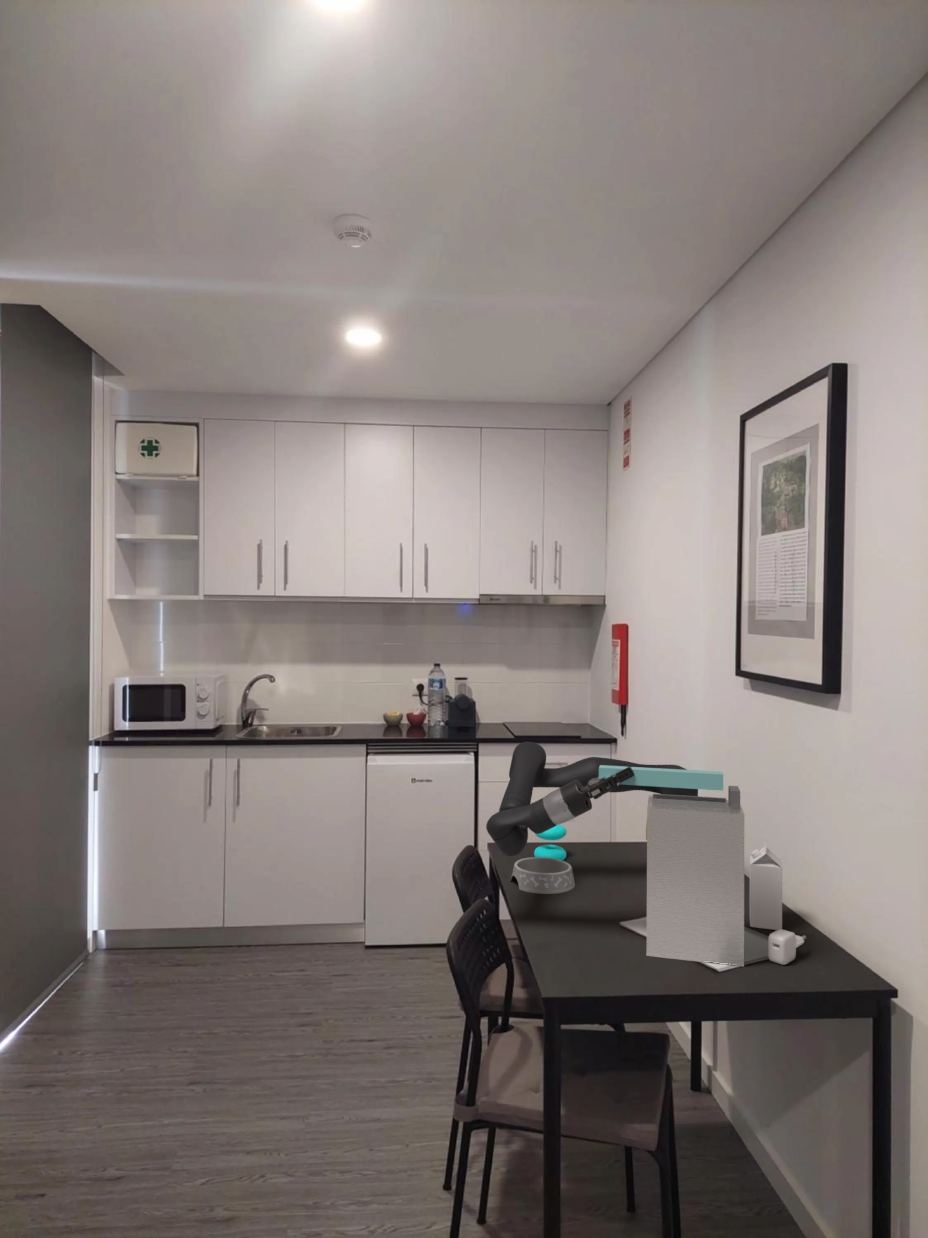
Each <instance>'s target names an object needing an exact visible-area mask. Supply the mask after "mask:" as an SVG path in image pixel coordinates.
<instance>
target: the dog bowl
mask: <svg viewBox="0 0 928 1238" xmlns="http://www.w3.org/2000/svg"><path fill="white" fill-rule="evenodd" d="M573 871H574V870H573V867H572V864H570V863H568V862H566V861H565V860H559V859H554V858H546V857H535V856H534V857H532V856H531V857H525V858H521V859H520V858H519V859H518V860H517V861H515V862H514V864H513V869H512V873H511V877H510V880H509V881H510V882H511V881H512V879H514V878H515V880H516V881H517V884H518V889H519V890H520V891H521V892H522V891H524V892H527V893H533V894H539V895H541V894H542V895H543V894H544V895H550V894H551V895H553V894H562V893H567V892H569V891H571V890H573V889H574V888H575V887H576V882H575V878H574V872H573Z"/></svg>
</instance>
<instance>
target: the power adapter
mask: <svg viewBox="0 0 928 1238" xmlns="http://www.w3.org/2000/svg"><path fill="white" fill-rule="evenodd" d="M767 938H768V941H767V943H768V944H767V946H768V947H767V952H768V953H767V957H768V959H769V961H770V962H773V963H775V964H780V965H782V966H783V965H784V966H785V965H787V964H790V963H791V962H793V961H794V960H795V959H796V955H797V948H799V947H800V946H802V945H804V943H805V939H807V936H806V935H802V936H800V935H797V934H795V932H794V931H789V930H786V929H783V928H782V929H779V930H774V931H773V932H771V933H769V936H768V937H767Z"/></svg>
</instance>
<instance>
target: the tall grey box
mask: <svg viewBox="0 0 928 1238" xmlns="http://www.w3.org/2000/svg"><path fill="white" fill-rule="evenodd" d="M727 788H728V790H727V791H728V799H727V797H715V796H713V797H712V796H699V795H698V796H683V795H667V794H659V793H652V794H648V798H647V806H646V807H647V808H646V809H647V813H646V816H647V817H646V825H645V840H646V953H645V954H646V957H655V958H663V959H671V960H672V959H673V960H679V961H680V960H681V961H688V962H697V963H699V962H700V963H702V962H701V961H710V962H719V963H728V964H729V963H730V964H737V965H739V966H738V967H745V812H744V809H743V808H742V804H741V789H740V788H739V785H737V786H736V785H728V787H727Z"/></svg>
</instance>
